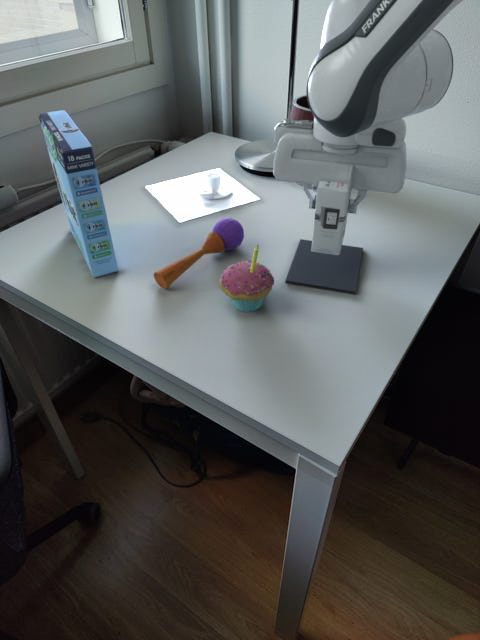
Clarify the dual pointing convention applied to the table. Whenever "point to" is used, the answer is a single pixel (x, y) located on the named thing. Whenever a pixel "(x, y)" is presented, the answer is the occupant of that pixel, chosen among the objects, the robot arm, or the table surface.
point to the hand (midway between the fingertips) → (332, 209)
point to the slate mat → (325, 268)
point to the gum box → (79, 190)
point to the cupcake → (247, 283)
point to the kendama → (204, 250)
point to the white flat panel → (201, 194)
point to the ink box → (331, 216)
